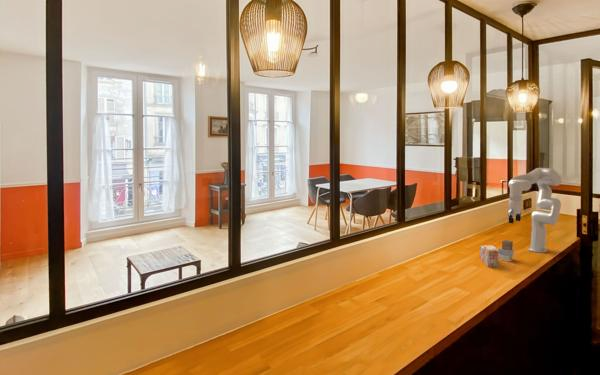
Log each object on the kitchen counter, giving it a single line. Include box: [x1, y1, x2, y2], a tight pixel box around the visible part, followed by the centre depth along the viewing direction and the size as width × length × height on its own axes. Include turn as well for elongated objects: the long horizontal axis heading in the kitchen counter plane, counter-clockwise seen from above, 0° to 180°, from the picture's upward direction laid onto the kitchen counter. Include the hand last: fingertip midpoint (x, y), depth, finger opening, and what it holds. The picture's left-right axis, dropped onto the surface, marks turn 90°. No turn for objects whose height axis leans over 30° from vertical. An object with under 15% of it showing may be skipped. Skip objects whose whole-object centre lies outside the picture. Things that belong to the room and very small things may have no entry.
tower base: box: [498, 253, 514, 263], centre depth 276 cm, size 7×7×4 cm
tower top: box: [498, 247, 515, 256], centre depth 276 cm, size 7×7×4 cm
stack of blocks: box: [479, 244, 499, 269], centre depth 269 cm, size 21×6×12 cm, turn 170°
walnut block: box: [501, 239, 514, 251], centre depth 274 cm, size 5×5×6 cm
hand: (514, 221), depth 273 cm, fingers open, 9 cm apart
